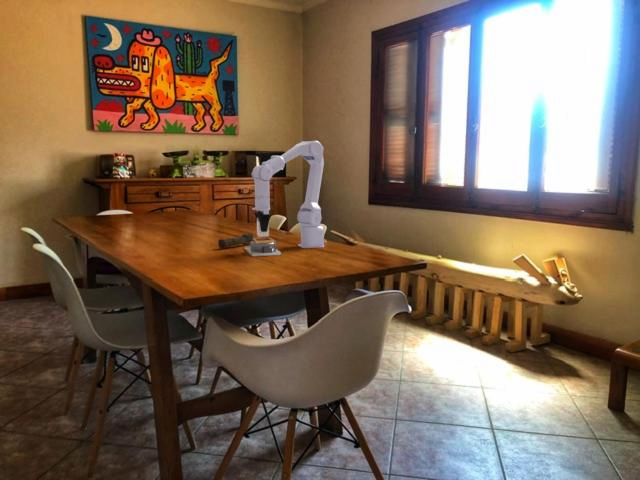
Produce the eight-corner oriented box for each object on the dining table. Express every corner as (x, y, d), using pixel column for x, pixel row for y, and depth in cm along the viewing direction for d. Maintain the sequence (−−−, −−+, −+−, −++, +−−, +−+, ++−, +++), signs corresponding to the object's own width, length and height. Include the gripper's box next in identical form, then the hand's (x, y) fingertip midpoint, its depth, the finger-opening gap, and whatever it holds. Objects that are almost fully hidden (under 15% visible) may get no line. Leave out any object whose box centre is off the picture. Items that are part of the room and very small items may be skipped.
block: (266, 234, 206) (266, 217, 205) (269, 236, 202) (268, 218, 201) (257, 235, 205) (256, 217, 204) (259, 236, 201) (258, 218, 200)
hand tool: (223, 249, 208) (224, 238, 207) (217, 247, 211) (217, 236, 210) (257, 244, 223) (258, 233, 222) (251, 242, 225) (252, 232, 224)
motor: (270, 247, 214) (270, 235, 214) (280, 254, 197) (280, 242, 197) (244, 249, 211) (244, 236, 210) (252, 256, 194) (252, 243, 193)
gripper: (248, 195, 207) (249, 229, 209) (255, 197, 193) (256, 233, 195) (266, 195, 209) (266, 228, 211) (274, 197, 195) (274, 232, 197)
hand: (262, 230), depth 203 cm, fingers closed on block, 4 cm apart
